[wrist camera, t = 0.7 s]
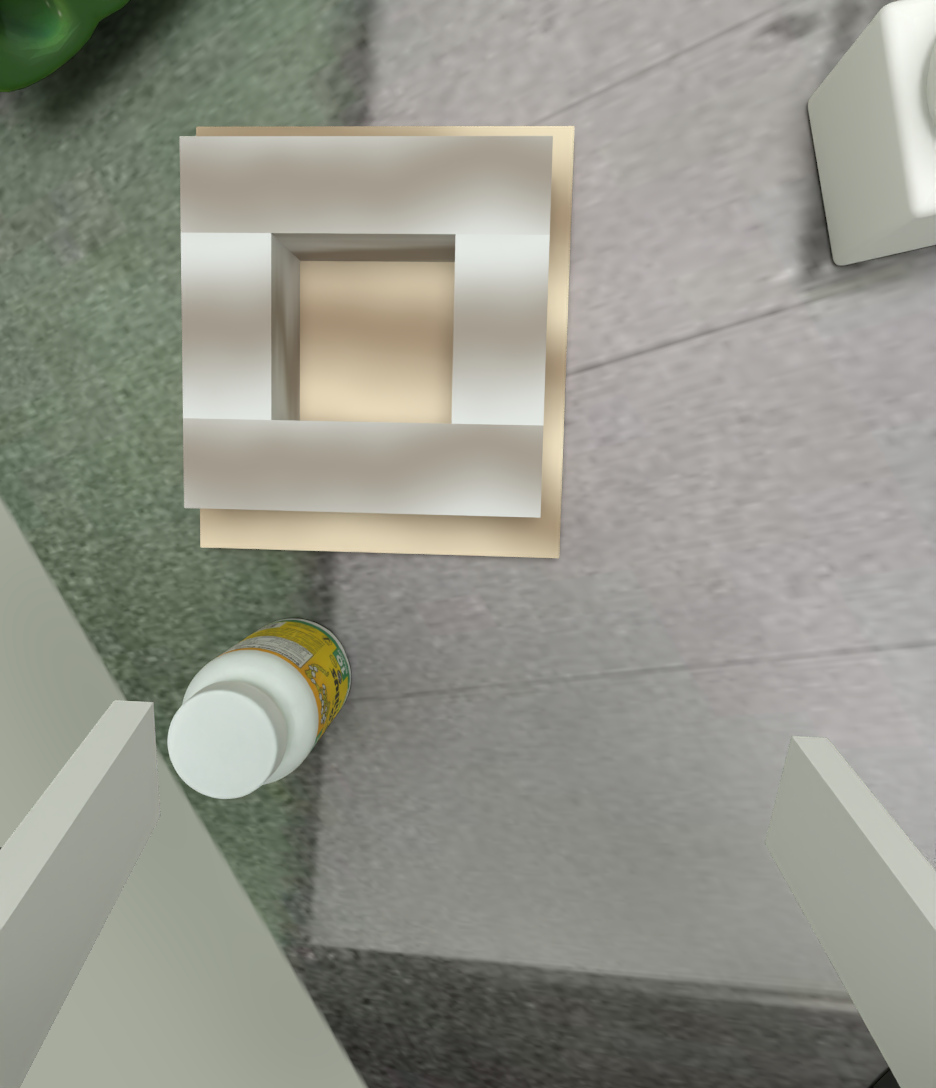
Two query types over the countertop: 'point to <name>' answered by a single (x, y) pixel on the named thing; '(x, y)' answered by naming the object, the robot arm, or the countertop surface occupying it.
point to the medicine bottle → (880, 137)
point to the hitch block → (376, 337)
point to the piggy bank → (45, 36)
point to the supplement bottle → (259, 708)
